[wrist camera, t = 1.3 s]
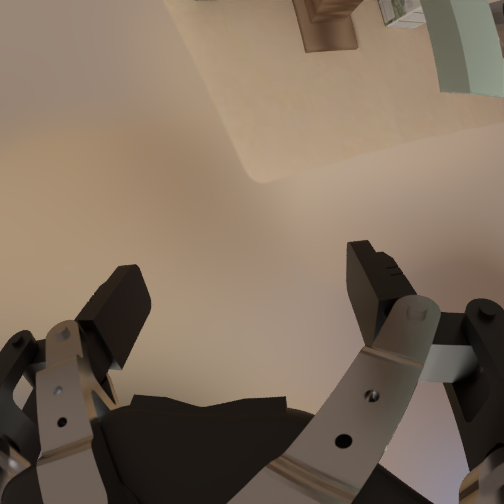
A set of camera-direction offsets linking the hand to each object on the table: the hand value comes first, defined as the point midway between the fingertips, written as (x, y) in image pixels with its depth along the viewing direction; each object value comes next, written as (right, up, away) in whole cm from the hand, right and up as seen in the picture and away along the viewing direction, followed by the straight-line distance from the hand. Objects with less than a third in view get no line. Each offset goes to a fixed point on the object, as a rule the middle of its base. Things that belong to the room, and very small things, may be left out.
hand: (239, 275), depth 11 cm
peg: (+10, +19, -4) cm, 22 cm away
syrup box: (+24, +40, +21) cm, 51 cm away
